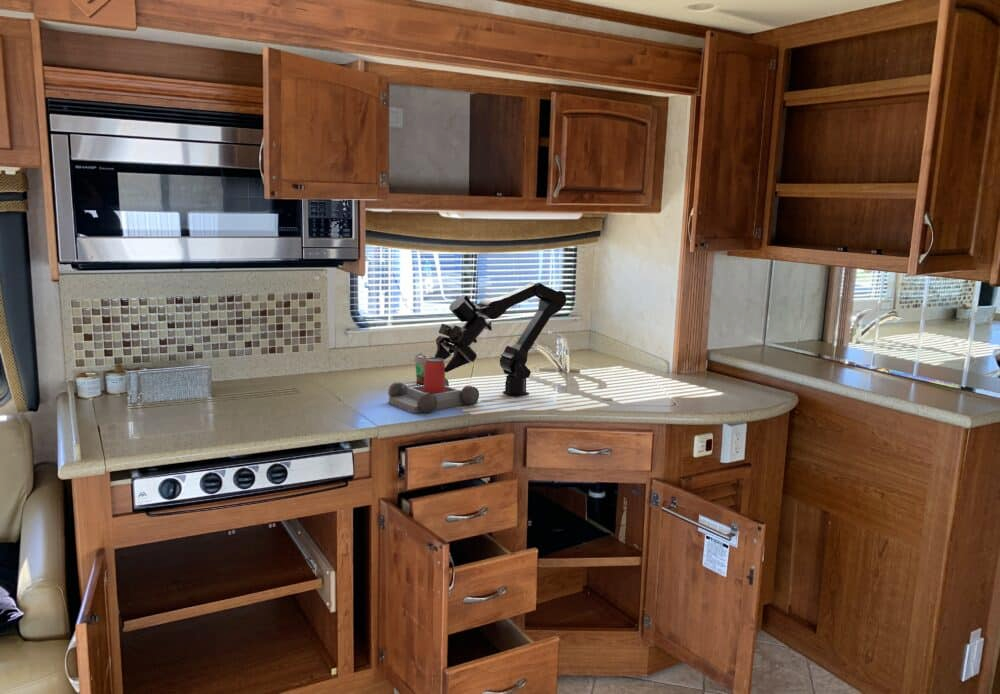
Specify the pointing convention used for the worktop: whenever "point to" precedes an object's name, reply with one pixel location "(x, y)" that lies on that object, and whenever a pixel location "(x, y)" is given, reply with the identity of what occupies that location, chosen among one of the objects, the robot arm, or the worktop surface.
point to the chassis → (430, 397)
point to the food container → (420, 367)
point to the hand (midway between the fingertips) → (438, 368)
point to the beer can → (434, 375)
